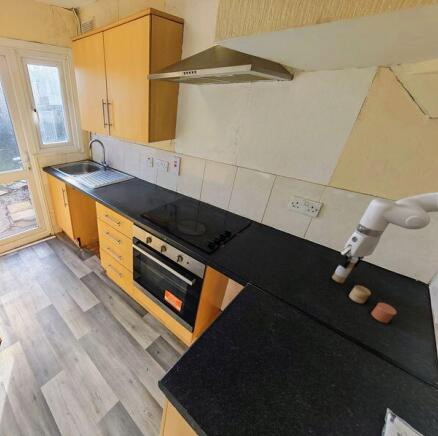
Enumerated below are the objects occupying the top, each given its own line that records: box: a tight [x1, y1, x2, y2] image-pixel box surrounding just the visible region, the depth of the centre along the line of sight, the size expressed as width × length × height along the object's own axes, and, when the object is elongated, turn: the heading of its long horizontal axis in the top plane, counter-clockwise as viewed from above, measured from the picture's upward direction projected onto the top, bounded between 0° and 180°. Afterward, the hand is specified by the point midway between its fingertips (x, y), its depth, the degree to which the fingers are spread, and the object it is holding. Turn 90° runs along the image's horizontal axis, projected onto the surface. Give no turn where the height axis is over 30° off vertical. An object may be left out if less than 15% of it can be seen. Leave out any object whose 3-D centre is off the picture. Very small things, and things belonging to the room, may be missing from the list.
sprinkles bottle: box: [331, 254, 358, 284], centre depth 98 cm, size 5×5×13 cm
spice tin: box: [348, 284, 372, 304], centre depth 93 cm, size 5×5×5 cm
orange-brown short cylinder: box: [370, 302, 397, 324], centre depth 85 cm, size 5×5×5 cm
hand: (347, 265), depth 97 cm, fingers closed on sprinkles bottle, 4 cm apart
